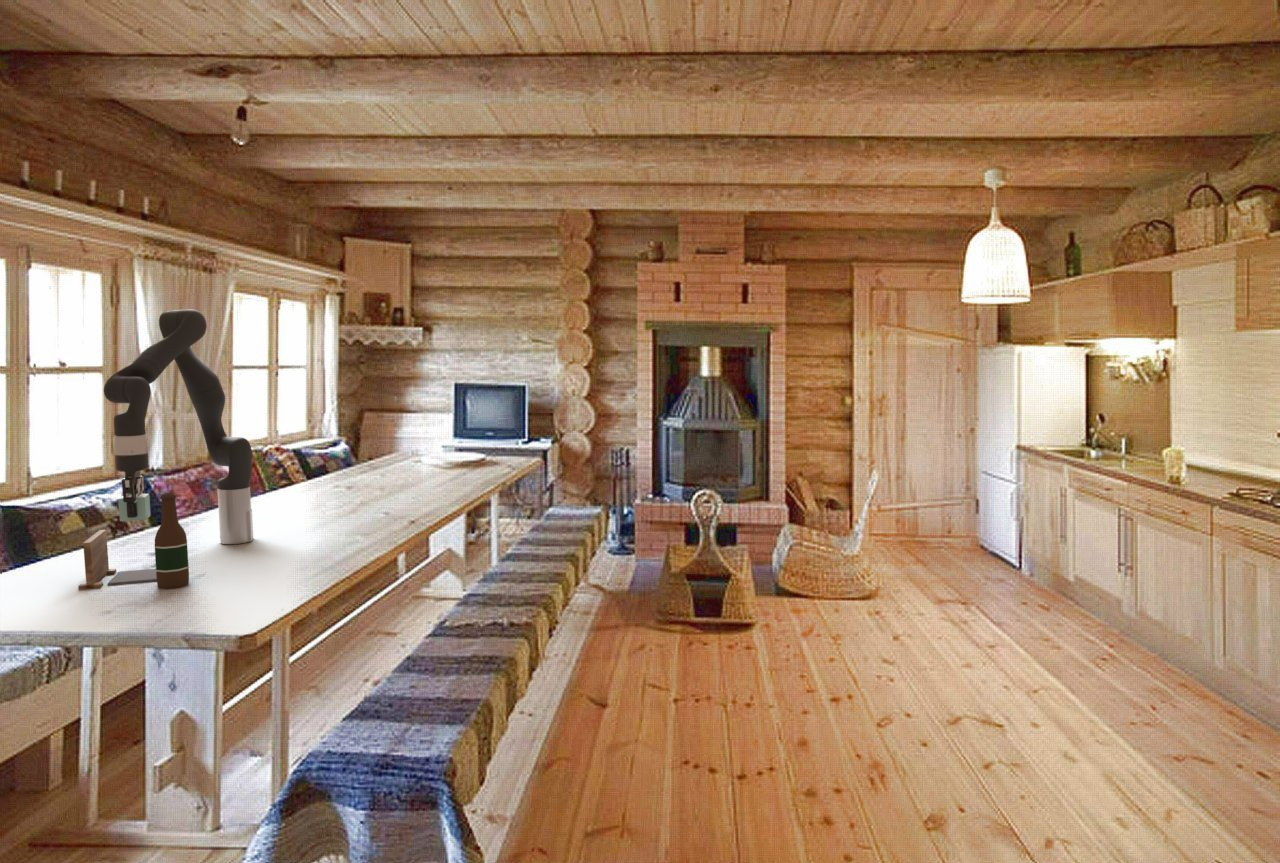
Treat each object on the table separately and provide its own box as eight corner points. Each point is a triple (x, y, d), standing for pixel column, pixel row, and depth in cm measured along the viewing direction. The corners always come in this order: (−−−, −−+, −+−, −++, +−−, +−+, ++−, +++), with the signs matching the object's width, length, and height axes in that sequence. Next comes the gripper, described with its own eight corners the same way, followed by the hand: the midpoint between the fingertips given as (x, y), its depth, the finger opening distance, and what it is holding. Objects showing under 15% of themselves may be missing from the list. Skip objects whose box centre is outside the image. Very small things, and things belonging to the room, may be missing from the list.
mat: (168, 569, 232) (168, 567, 232) (160, 580, 220) (160, 578, 220) (118, 573, 228) (118, 571, 227) (107, 585, 216) (107, 583, 216)
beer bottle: (165, 581, 220) (159, 491, 217) (195, 580, 220) (190, 490, 218) (150, 590, 212) (144, 496, 210) (182, 589, 213) (176, 495, 210)
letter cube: (150, 515, 226) (149, 492, 226) (146, 519, 221) (144, 496, 220) (125, 517, 224) (123, 493, 224) (119, 521, 219) (118, 497, 218)
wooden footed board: (116, 572, 229) (113, 529, 228) (101, 587, 214) (98, 541, 213) (95, 574, 227) (92, 530, 226) (78, 589, 212) (75, 543, 211)
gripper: (141, 454, 215) (145, 519, 217) (153, 448, 229) (156, 509, 230) (108, 456, 213) (112, 521, 214) (121, 449, 226) (125, 511, 228)
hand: (135, 514), depth 222 cm, fingers closed on letter cube, 6 cm apart
